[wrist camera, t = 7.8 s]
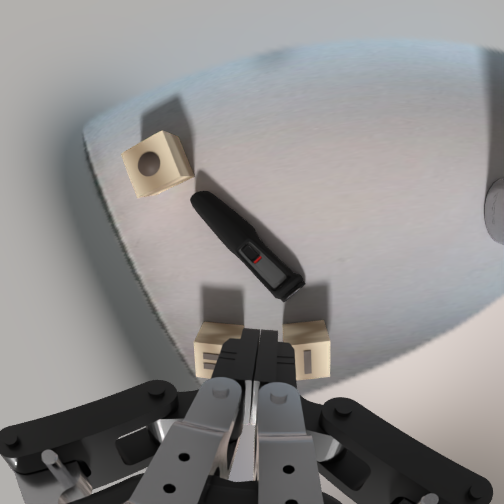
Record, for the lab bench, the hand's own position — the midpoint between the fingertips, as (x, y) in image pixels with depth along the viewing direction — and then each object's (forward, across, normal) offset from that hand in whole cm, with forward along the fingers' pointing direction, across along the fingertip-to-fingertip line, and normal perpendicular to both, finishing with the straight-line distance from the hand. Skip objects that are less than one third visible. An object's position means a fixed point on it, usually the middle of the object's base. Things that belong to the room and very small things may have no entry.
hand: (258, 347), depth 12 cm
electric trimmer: (+21, +2, 0) cm, 21 cm away
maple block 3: (+20, -5, +12) cm, 24 cm away
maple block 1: (+20, +12, -8) cm, 25 cm away
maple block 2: (+20, +5, +13) cm, 24 cm away
